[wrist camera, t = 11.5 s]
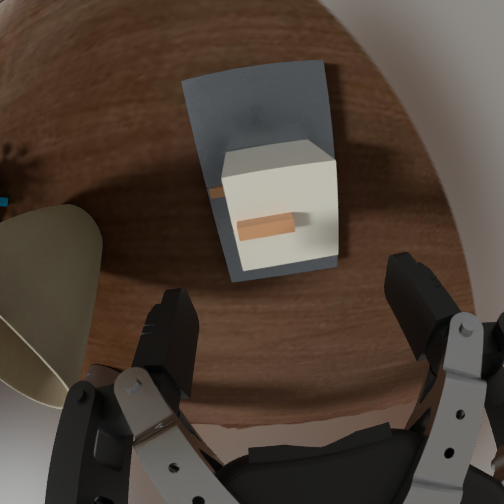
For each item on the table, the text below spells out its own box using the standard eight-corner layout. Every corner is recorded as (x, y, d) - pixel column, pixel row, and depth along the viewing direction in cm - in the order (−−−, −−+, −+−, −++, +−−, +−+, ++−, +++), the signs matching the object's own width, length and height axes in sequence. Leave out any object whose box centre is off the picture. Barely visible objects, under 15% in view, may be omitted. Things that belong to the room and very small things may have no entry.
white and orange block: (307, 139, 18) (341, 164, 12) (314, 211, 22) (342, 262, 16) (225, 152, 19) (220, 183, 13) (241, 224, 22) (243, 279, 16)
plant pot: (127, 305, 30) (84, 426, 16) (30, 261, 26) (-34, 354, 13) (152, 194, 22) (56, 344, 9) (30, 151, 18) (-88, 233, 5)
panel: (333, 257, 26) (350, 299, 21) (232, 272, 27) (229, 317, 22) (317, 61, 16) (343, 52, 11) (185, 81, 17) (162, 79, 12)
